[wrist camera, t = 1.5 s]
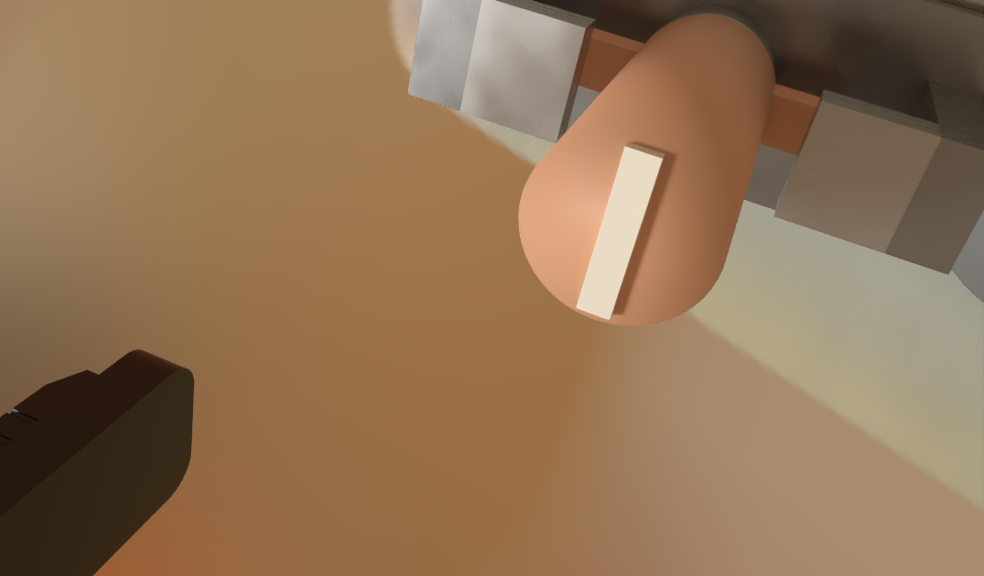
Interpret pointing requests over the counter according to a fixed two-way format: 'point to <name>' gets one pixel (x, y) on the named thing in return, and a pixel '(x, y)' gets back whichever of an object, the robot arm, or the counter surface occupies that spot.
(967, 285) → the coaster
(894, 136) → the keeper post
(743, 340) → the counter surface
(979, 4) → the counter surface
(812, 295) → the counter surface
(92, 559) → the robot arm
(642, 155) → the knob
